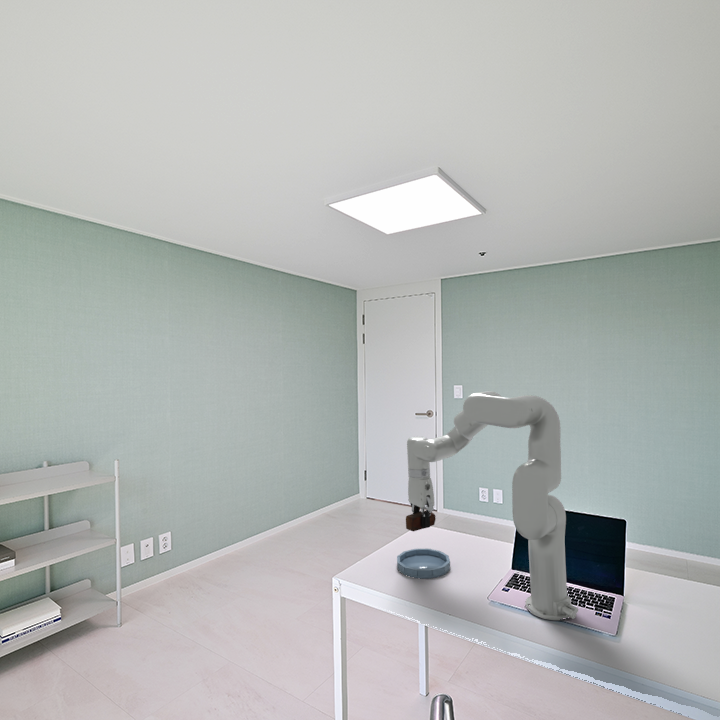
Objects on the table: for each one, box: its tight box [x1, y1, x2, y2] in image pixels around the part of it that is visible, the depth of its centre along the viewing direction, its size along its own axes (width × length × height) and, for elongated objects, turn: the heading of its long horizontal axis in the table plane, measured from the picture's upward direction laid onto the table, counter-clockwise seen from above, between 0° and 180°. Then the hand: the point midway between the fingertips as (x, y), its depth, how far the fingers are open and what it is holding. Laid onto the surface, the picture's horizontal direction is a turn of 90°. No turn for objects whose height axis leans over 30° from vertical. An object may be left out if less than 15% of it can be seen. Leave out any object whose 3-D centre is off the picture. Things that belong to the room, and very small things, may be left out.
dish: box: [396, 548, 451, 580], centre depth 160 cm, size 18×18×3 cm
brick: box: [405, 512, 437, 532], centre depth 160 cm, size 11×4×5 cm, turn 125°
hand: (421, 524), depth 160 cm, fingers closed on brick, 4 cm apart
